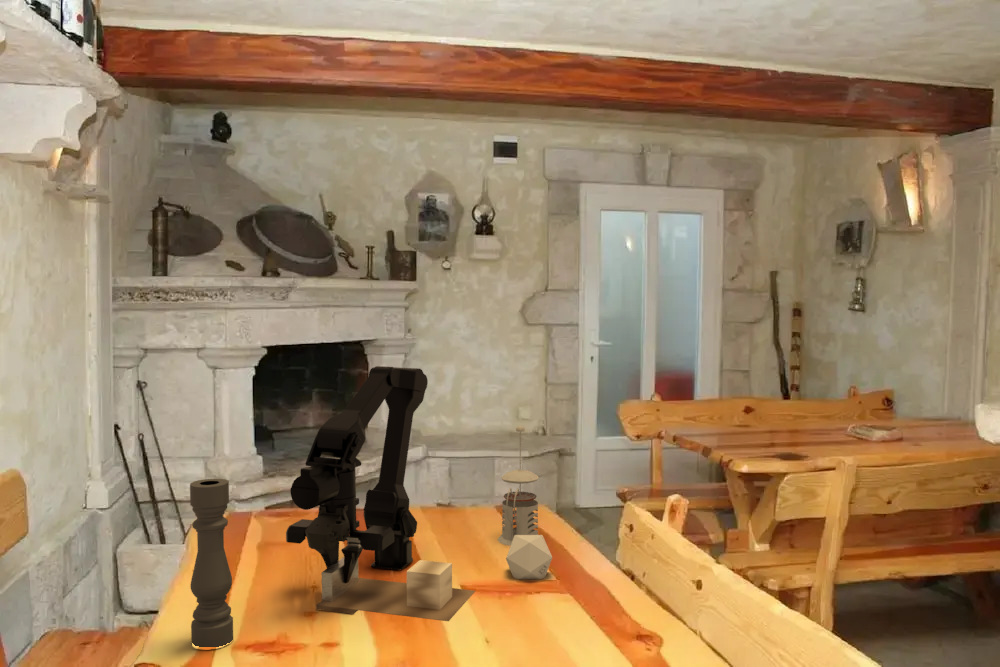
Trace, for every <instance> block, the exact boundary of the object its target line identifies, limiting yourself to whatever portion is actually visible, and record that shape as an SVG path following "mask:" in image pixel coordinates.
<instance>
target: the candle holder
mask: <svg viewBox="0 0 1000 667" xmlns="http://www.w3.org/2000/svg"><path fill="white" fill-rule="evenodd" d="M229 491H230V484H229V480H227V479H223V478H206V479H204V478H203V479H198V480H196V481H193V482H190V484H189V498H190V499H189V500H190V502H189V503H190V504H189V505H190V506H191V507H192V512H193V513H194V516H195V517H196V519H194V521H193V522H192V529H194V530H195V532H197V534H196V535H197V536H196V537H197V539H196V541H197V552H196V556H195V563H194V566H193V572H192V575H191V576H192V577H191V579H190V580H191V581H190V591H191V593H192V595H193V596H194V597H195V598H196V603H198V604H197V606H195V609H194V610H193V612H192V619H193V620H192V621H191V624H190V628H191V629H190V632H191V633H190V635H191V636H190V637H191V642H192V643H193V644H194V645H195V646H199V647H219V646H223V645H226V644H227V643H230V642H231V641H232V640H233V641H234V617H233V616H232V615H231V614H232V607H231V606H230V605H229V603H227V601H226V600H227V598H228V596H227V595H228V593H229V592H230V590H231V589H232V584H233V576H232V573H231V569H230V566H229V562H228V558H227V555H226V550H225V547H224V546H225V545H224V543H225V541H224V538H225V537H224V536H225V535H224V534H225V533H224V530H225V528H226V527H227V526H228V523H229V520H228V519H227V518H226V517H224V515H225V512H226V510H227V509H228V504H230V503H229V502H230V492H229ZM192 643H191V644H192Z"/></svg>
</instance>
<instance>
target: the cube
mask: <svg viewBox="0 0 1000 667" xmlns="http://www.w3.org/2000/svg"><path fill="white" fill-rule="evenodd" d="M406 583H407V606H412V607H421V608H429V609H438V610H440V609H441V608H442V607H443V606H444V605H445V604H446V603H447V602H448V601H449V600H450V599H451V598H452V588H453V563H452V562H443V561H433V560H425V559H424V560H423V559H420V560H418V561H417V562H416V563H415V564H414V565H412V566H411V567H410V568H409V569H408V570H406Z"/></svg>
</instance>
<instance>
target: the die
mask: <svg viewBox="0 0 1000 667" xmlns="http://www.w3.org/2000/svg"><path fill="white" fill-rule="evenodd" d="M507 552H508V553H507V554H506V558H505V560H506V562H507V565H508V568H509V571H510V572H511V575H512V578H514V579H518V580H541V579H544V578H546V576H547V573H548V570H549V568H550V565H551V563H552V560H553V556H552V553H551V551H550V549H549V547H548V545H547V542H546V540H545V537H544V536H543V534H538V535H514V538H513V541H512V544H511V546H509V550H508V551H507Z"/></svg>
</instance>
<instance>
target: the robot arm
mask: <svg viewBox="0 0 1000 667" xmlns="http://www.w3.org/2000/svg"><path fill="white" fill-rule="evenodd" d="M427 388H428V376H427V375H426V374H425V373H424V371H423V370H422V369H421V368H415V367H396V366H395V367H394V366H380V365H377V366H374V367H371V368H370V370H369V372H368V377H367V378H366V379H365V381H364V382H363V384H362V385H361V386H360V388H359V389H358V390H357V392H356V394H355V395H353V397H352V398H351V400H350V401H349V403H348V404H347V405H346V407H345V408H344V410H343V411H341V412H340V413H339V414H338V413H337V414H336V415H334V416H332V417H330V418H329V419H328V420H326V422H324V423H323V424H322V426H321V427H319V429H318V431H317V433H316V434H315V437H314V440H313V442H312V446H311V448H310V450H309V453H308V456H307V458H306V461H305V466H306V467H302V468H300V475H299V476H297V477H296V478H295V479H294V480H293V482H292V484H291V487H290V490H289V491H290V497H291V499H292V502H293V503H294V504H295V505H296V506H297V508H299V509H302V510H303V511H305V510H306V511H308V510H312V509H313V508H316V507H318V506H319V507H318V513H317V517H315V518H314V519H307V518H306V519H305V518H301V519H300V520H298V521H296V522H294V523H292V524H290V525H289V526H288V527H287V529H286V531H285V541H286V543H290V544H298V545H299V544H303V542H304V541H305V540H306V539H307V540H306V541H307V546H308V548H310V549H312V550H315V551H317V552H318V554H320V557H321V558H322V559H323V562H324V564H325V566H326V569H327V568H328V567H330V566H331V565H333V564H334V563H336V562H337V561H339V560H340V559H339V558H340V556H339V555H340V551H341V553H342V554H343V557H344V583H348V582H349V580H350V578H351V575H352V573H353V570H354V568H355V565H356V562H357V560H358V561H359V557H360V556H361V554H362V552H363V550H364V551H373V552H374V562H372V563H371V564H370V568H375V569H384V570H393V571H394V570H395V571H402V570H403V569H404V568H406V567H407V566H408V565H410V564H411V562H413V560H414V558H413V551H412V550H413V542H412V540H411V539H410V538H412V537H413V538H414V537H415V534H416V533H417V529H418V528H417V527H418V521H417V519H416V518H415V516H414V515H413V514H412V513H411V511H410V498H409V495H408V493H407V491H406V488H405V486H404V485H405V484H404V482H405V475H406V468H407V461H408V456H409V446H410V439H411V433H412V432H411V431H412V425H413V419H414V418H413V417H414V413H415V412H416V411H417V409H418V408H419V407H420V405H421V404H422V403H423V401H424V398H425V393H426V390H427ZM384 401H385V404H386V405H387V409H388V415H387V421H386V429H385V435H384V442H383V449H382V456H381V463H380V470H379V476H378V482H377V483H376V485H375V486H374V487H373V488H372V489H368V490H367V491H366V494H365V504H364V507H363V518H364V524H365V527H366V529H365V530H358V528H359V527H360V520H357V506H358V505H359V504H360V498H359V497H357V496H356V495H357V490H356V488H357V483H356V480H357V479H356V478H357V477H356V476H357V473H356V471H357V470H356V468H357V467H360V466H362V461H360V460H359V459H358V458H357V456H358V455H359V453H360V452H361V450H362V448H363V445H364V443H365V441H366V439H367V437H366V428H367V427H368V424H369V423H370V422H371V420H372V419H373V418H374V415H375V414H376V413H377V411H378V409H379V408H380V407H381V405H382V404H383V402H384ZM322 456H323V457H322ZM340 542H346V546H344V547H343V548H342V549H340ZM339 549H340V551H339Z"/></svg>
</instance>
